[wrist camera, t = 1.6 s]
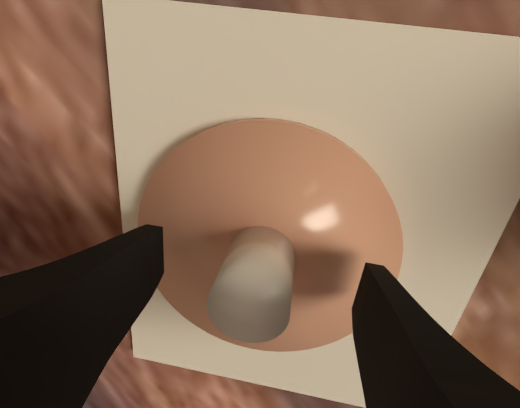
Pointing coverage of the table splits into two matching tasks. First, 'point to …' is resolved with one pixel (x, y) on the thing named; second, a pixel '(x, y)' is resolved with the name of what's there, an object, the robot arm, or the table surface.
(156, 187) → the lid
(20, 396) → the robot arm
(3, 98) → the table surface
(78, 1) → the table surface
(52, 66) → the table surface
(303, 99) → the mat
